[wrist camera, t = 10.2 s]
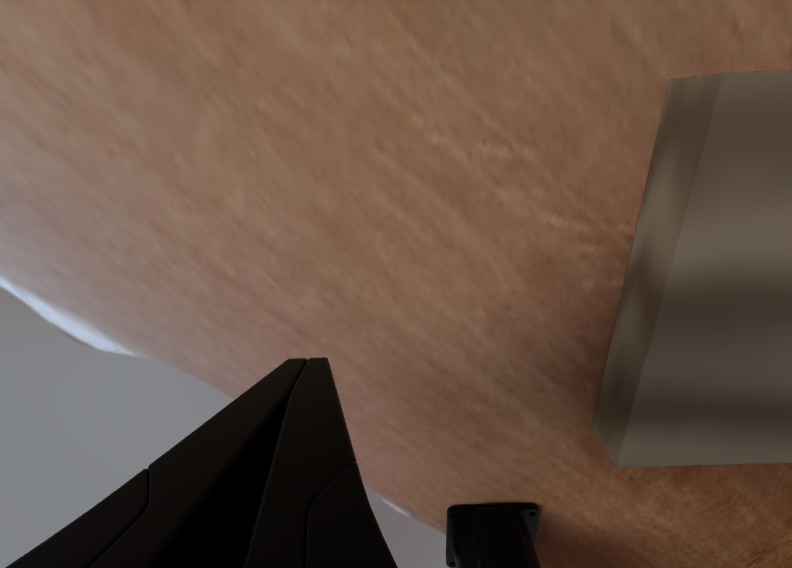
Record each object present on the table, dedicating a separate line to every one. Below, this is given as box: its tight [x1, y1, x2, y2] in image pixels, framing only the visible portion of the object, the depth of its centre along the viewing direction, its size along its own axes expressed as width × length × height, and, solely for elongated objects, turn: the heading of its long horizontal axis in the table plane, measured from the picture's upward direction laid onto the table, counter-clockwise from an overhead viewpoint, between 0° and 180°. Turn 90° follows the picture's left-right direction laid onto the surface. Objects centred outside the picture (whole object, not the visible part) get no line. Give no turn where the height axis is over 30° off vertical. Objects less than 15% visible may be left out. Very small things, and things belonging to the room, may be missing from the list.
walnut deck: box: [592, 70, 792, 468], centre depth 19 cm, size 20×14×3 cm
